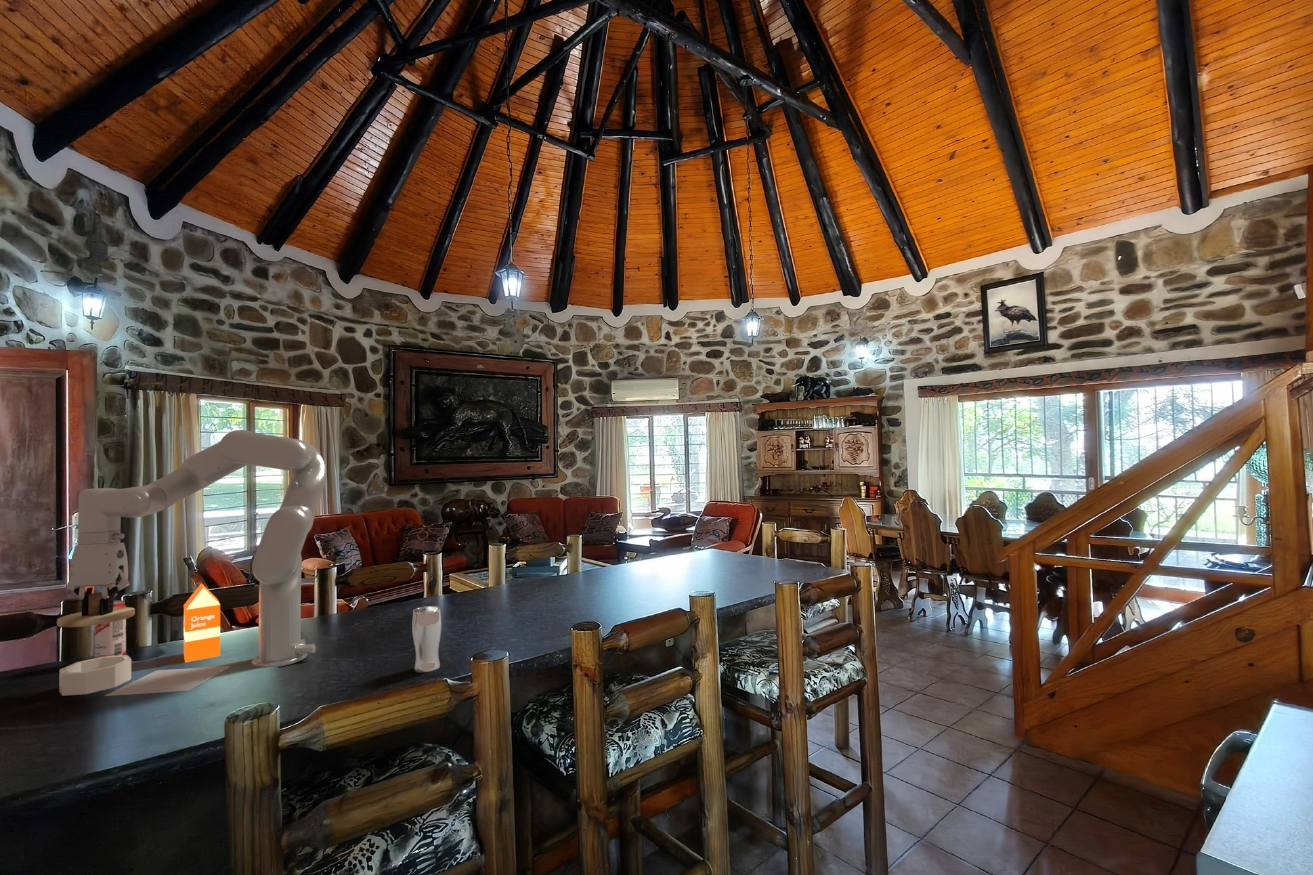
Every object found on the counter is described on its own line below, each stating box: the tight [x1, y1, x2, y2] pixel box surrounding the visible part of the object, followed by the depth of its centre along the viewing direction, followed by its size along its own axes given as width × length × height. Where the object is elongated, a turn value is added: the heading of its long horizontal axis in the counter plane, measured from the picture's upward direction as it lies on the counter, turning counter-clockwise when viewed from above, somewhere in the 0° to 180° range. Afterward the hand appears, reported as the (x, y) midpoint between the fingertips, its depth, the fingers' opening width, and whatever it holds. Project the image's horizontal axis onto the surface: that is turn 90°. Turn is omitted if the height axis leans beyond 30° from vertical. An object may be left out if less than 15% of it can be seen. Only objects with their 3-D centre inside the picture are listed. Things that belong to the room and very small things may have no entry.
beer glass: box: [411, 605, 442, 673], centre depth 148 cm, size 7×7×15 cm
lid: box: [56, 591, 136, 628], centre depth 141 cm, size 14×14×6 cm
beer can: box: [94, 599, 127, 659], centre depth 159 cm, size 6×6×16 cm
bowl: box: [58, 654, 132, 697], centre depth 140 cm, size 12×12×6 cm
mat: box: [104, 665, 232, 697], centre depth 142 cm, size 18×16×1 cm
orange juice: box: [183, 582, 221, 663], centre depth 161 cm, size 8×9×20 cm
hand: (97, 613), depth 141 cm, fingers closed on lid, 3 cm apart
